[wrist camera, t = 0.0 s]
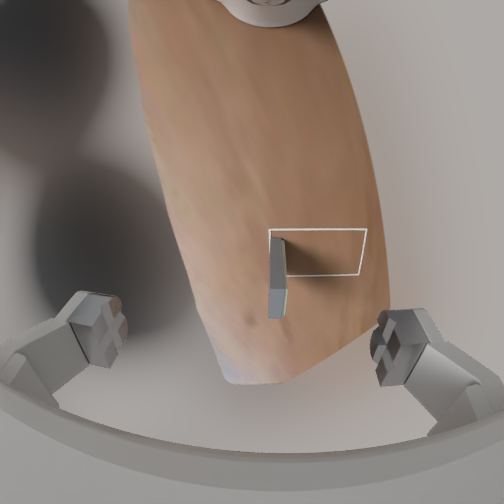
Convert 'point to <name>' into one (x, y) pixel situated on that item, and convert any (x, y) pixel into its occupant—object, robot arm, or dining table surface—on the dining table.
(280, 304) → the tile
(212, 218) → the dining table surface
